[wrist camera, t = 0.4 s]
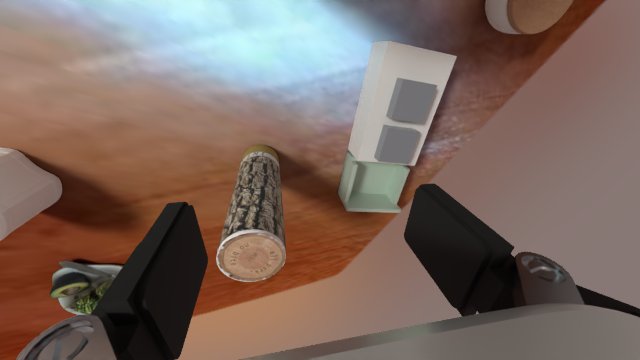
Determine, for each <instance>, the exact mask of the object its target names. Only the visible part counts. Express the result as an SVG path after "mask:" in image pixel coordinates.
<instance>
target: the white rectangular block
mask: <svg viewBox="0 0 640 360" xmlns="http://www.w3.org/2000/svg"><path fill="white" fill-rule="evenodd" d="M456 58H457V56H454V55H449V54H445V53H441V52H436V51H432V50H427V49H423V48H419V47H414V46H410V45H405V44H401V43H397V42H392V41H380V42H373V44H372V48H371V52H370V56H369V61H368V65H367V69H366V74H365V78H364V82H363V86H362V91H361V95H360V99H359V104H358V108H357V112H356V116H355V121H354V125H353V129H352V133H351V138H350V142H349V146H348V150H349V151H350V152H351V153H352V155H353V156H354V157H355V158H356V160H357V161H367V162H378V163H390V162H379V161H377V160H376V159H375V158H374V155H375V152H376V148H377V145H378V141H379V138H380V135H381V131H382V128H383V125H390V126H397V127H405V128H413V129H416V130H417V131H419V132H420V134H419V137H418V139H417V142H416V145H415V147H414V150H413V153H412V155H411V158H410V161H409V164H402V163H390V164H401V165H413V166H415V164H416V161H417V159H418V156H419V154H420V151H421V148H422V146H423V143H424V141H425V138H426V135H427V133H428V130H429V128H430V125H431V122H432V120H433V117H434V115H435V112H436V109H437V107H438V104H439V102H440V99H441V96H442V94H443V91H444V89H445V86H446V84H447V81H448V78H449V76H450V73H451V71H452V68H453V65H454V63H455V60H456ZM397 78H402V79H408V80H413V81H418V82H424V83H429V84H434V85H437V88H436V91H435V93H434V96H433V99H432V101H431V104H430V107H429V110H428V112H427V115H426V118H425V120H424V123H418V122H411V121H403V120H396V119H391V118H389V117H387V116H386V114H387V111H388V107H389V104H390V100H391V97H392V94H393V90H394V87H395V83H396V80H397Z"/></svg>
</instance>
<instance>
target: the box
mask: <svg viewBox="0 0 640 360" xmlns="http://www.w3.org/2000/svg"><path fill="white" fill-rule="evenodd" d="M409 171H410V169H409V168H408V167H406V166H405V165H401V164H390V163H378V162H367V161H357V160H356V158H355V157H354V156H353V155H352V153H351V152H350V151H347V155H346V159H345V163H344V168H343V172H342V176H341V181H340V185H339V189H338V195H339V197H340V199H341V201H342V203H343V205H344V207H345V209H346V211H356V212H390V213H400V212H401V209H400V208H399V206H398V205H397V202H398V200H399V197H400V194H401V192H402V189H403V186H404V184H405V181H406V178H407V176H408V173H409Z"/></svg>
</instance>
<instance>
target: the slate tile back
mask: <svg viewBox="0 0 640 360" xmlns="http://www.w3.org/2000/svg"><path fill="white" fill-rule="evenodd" d="M419 134H420V132H419V131H417V130H416V129H413V128H405V127H397V126H390V125H383V128H382V131H381V135H380V138H379V141H378V145H377V148H376V152H375V155H374V158H375V159H376V160H377V161H379V162H390V163H402V164H409V161H410V158H411V155H412V153H413V150H414V147H415V145H416V142H417V139H418V137H419Z"/></svg>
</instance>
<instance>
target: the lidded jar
mask: <svg viewBox="0 0 640 360" xmlns="http://www.w3.org/2000/svg"><path fill="white" fill-rule="evenodd" d="M572 2H573V0H486V2H485V13H486V16H487V19H488V21H489V23H490V24H491V26H492V27H493V28H495V29H496V30H498V31H500V32H503V33H508V34H536V33H540V32H542V31H544V30H546V29H548V28H549V27H551V26H552V25H553V24H555V23H556V22H557V21H558V20H559V19H560V18H561V17H562V16H563V15H564V13H565V12H566V11H567V10H568V8H569V7H570V5H571V4H572Z"/></svg>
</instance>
